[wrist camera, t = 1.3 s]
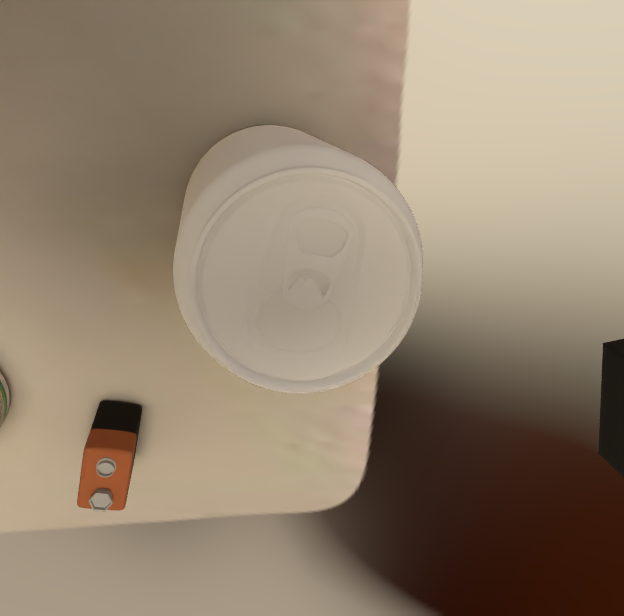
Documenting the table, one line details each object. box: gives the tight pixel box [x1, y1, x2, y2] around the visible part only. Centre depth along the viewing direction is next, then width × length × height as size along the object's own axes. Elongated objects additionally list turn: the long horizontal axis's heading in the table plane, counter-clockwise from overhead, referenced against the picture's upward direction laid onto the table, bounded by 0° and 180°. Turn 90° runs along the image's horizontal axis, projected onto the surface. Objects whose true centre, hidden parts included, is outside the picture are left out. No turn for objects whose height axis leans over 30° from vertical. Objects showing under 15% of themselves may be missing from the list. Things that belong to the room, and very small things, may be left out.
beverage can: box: [173, 125, 423, 394], centre depth 23 cm, size 8×8×12 cm
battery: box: [77, 401, 142, 511], centre depth 29 cm, size 2×3×5 cm, turn 166°
